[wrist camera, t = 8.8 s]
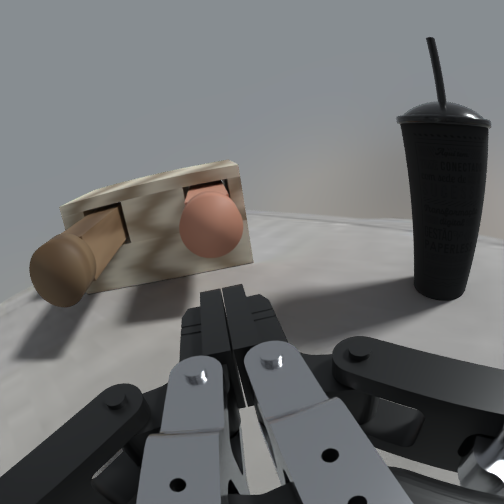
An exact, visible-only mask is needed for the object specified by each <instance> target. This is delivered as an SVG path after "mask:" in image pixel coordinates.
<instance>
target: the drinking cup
mask: <svg viewBox="0 0 504 504" xmlns="http://www.w3.org/2000/svg"><path fill="white" fill-rule="evenodd" d="M426 40H427V44H428V49H429V53H430V58H431V63H432V67H433V73H434V79H435V84H436V91H437V98H438V102H430V103H425V104H422V105H419V106H416V107H414V108H412V109H410V110H409V111H407V112H406V113H405V114H404V115H402V116H398V117H397V118H396V120H397V123H398V124H400V125H401V129H402V136H403V141H404V147H405V154H406V161H407V168H408V176H409V184H410V194H411V205H412V219H413V237H414V285H415V288H416V289H417V290H418V291H419V292H420V293H421V294H423V295H425V296H427V297H430V298H433V299H438V300H451V299H455V298H458V297H460V296H461V295H462V294H463V293H464V291H465V288H466V284H467V281H468V277H469V273H470V269H471V265H472V261H473V257H474V252H475V247H476V243H477V238H478V232H479V227H480V221H481V215H482V207H483V201H484V193H485V183H486V173H487V158H488V128H491V121H490V120H487V119H484V118H483V117H482V116H480V115H479V114H478V113H476V112H475V111H473V110H472V109H469V108H467V107H465V106H462V105H459V104H455V103H451V102H446V95H445V89H444V83H443V77H442V71H441V66H440V61H439V56H438V52H437V48H436V43H435V39H434V38H432V37H428V38H426Z"/></svg>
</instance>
